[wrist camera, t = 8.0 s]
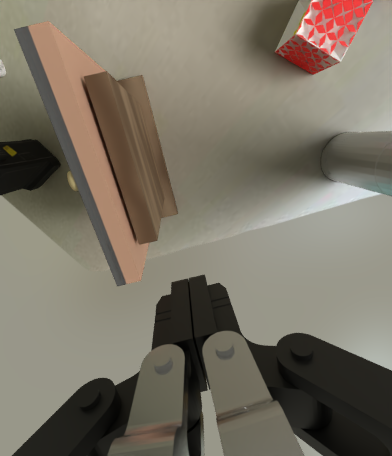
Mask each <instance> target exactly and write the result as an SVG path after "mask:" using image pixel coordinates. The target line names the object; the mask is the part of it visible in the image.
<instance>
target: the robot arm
mask: <svg viewBox="0 0 392 456" xmlns="http://www.w3.org/2000/svg"><path fill="white" fill-rule="evenodd" d="M321 167H322V170H323V172H324V174H325V175H326V176H327V177H328V178H329V179H331V180H333V181H337V182H341V183H344V184H348V185H352V186H355V187H359V188H363V189H366V190H370V191H374V192H378V193H381V194H386V195H389V196H392V131H381V132H348V133H342V134H340V135H337V136H336V137H334V138H333V139H332V140H331V141H330V142H329V143H328V144H327V145H326V147H325V148H324V151H323V153H322V157H321ZM171 286H172V287H171V294H170V295H166V296H162V297H161V299H160V300H159V302H158V304H157V305H156V316H155V324H154V333H153V342H152V351H151V352H150V353H149V354H148V355H147V356H146V357H145V358H144V360H143V362H142V365H141V368H140V371H139V372H138V373H137V374H135V375H134V376H132V377H131V378H129V379H127V380H125V381H123V382H121V383H119V384H117V385H116V386H115V385H114V383H113V382H112V381H111V380H110V379H107V378H98V379H94V380H92V381H90V382H88V383H87V384H85V385H83V386H82V387H81V388H80V389H78V390H77V391H76V392H75V393H74V394H73V395H72V396H71V397H70V398H69V399H68V400H67V401H66V402H65V403H64V404H63V405H62V406H61V407H60V408H59V409H58V410H57V411H56V412H55V413H54V414H53V415H52V416H51V417H50V418H49V419H48V420H47V421H46V422H45V423H44V424H43V425H42V426H41V427H40V428H39V429H38V430H37V431H36V432H35V433H34V434H33V435H32V436H31V437H30V438H29V439H28V440H27V441H26V442H25V443H24V444H23V445H22V446H21V447H20V448H19V449H18V450H17V451H16V452H15V453H14V454H13V455H12V456H204V455H205V453H204V424H203V423H204V422H203V413H202V402H201V393H200V392H203V391H207V383H208V386H209V389H211V394H212V398H213V403H214V407H215V412H216V416H217V418H216V420H217V425H218V430H219V434H220V439H221V444H222V449H223V453H224V456H304V454H303V451H302V449H301V447H300V445H299V443H298V441H297V439H296V437H295V435H297V436H298V437H299V438H300V439H302V440H303V441H304V442H306V443H307V444H308V445H310V446H311V447H312V448H314V449H315V450H316V451H317V452H319V453H320V454H321V455H323V456H392V371H391V370H389V369H387V368H384V367H382V366H380V365H377V364H375V363H373V362H370V361H368V360H366V359H364V358H362V357H359V356H357V355H355V354H352V353H350V352H348V351H346V350H343V349H341V348H339V347H336V346H334V345H332V344H329V343H327V342H325V341H323V340H321V339H318V338H316V337H314V336H311V335H308V334H303V333H293V334H289V335H286V336H284V337H283V338H281V339H280V340H279V342H278V343H277V346H263V345H258V344H255V343H252V342H250V341H249V340H247V339H246V338H245V337H244V336H243V335H242V333H241V331H240V328H239V325H238V322H237V319H236V316H235V314H234V311H233V308H232V305H231V302H230V299H229V296H228V293H227V290H226V288H225V287H224V286H222V285H221V284H220V283H216V284H212V285H208V286H207V282H206V278H205V275H200V276H197V277H192V278H189V280H188V279H184V280H180V281H175V282H172V285H171ZM206 379H207V382H206ZM294 434H295V435H294Z"/></svg>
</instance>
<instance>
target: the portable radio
mask: <svg viewBox="0 0 392 456" xmlns="http://www.w3.org/2000/svg"><path fill="white" fill-rule="evenodd" d="M59 166H60V163H59V161H58V160H57V159H56V157H55V156H54V155H53V154H52V153H50V152H49V151H48V150H47V149H46V148H45V147H44V146H43V145H42V144H41V143H39V142H38V141H37V140H31V139H29V140H22V141H13V142H0V195H3V194H6V193H9V192H12V191H16V190H19V189H27V190H30V191H31V190H34V189H37V188H39V187H40V186H41V185H42V184H43V183H44V182H45V181H46V180H47V179H48V178H49V177H50V176H51V175H52V174H53V173H54V172H55V171H56V170H57V169H58V167H59Z"/></svg>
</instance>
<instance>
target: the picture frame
mask: <svg viewBox="0 0 392 456" xmlns="http://www.w3.org/2000/svg"><path fill="white" fill-rule="evenodd" d="M14 31H15V33H16V36H17V38H18V41H19V43H20V46H21V48H22V51H23V53H24V56H25V58H26V61H27V63H28V66H29V68H30V71H31V73H32V76H33V78H34V81H35V83H36V86H37V88H38V91H39V93H40V96H41V98H42V100H43V103H44V105H45V108H46V110H47V113H48V115H49V118H50V120H51V123H52V125H53V128H54V130H55V133H56V135H57V138H58V140H59V143H60V145H61V148H62V150H63V153H64V155H65V158H66V160H67V163H68V165H69V168H70V170H71V171H69V172H68V173H67V178H68V182H69V185H70V186H71V188H72V189H73V190H74V191H79V192H80V195H81V197H82V200H83V202H84V205H85V207H86V210H87V212H88V215H89V217H90V220H91V222H92V225H93V227H94V230H95V232H96V235H97V237H98V240H99V242H100V245H101V247H102V250H103V252H104V255H105V257H106V260H107V262H108V265H109V267H110V270H111V272H112V274H113V277H114V279H115V282H116V284H117V286H121V285H125V284H129V283H133V282H137V281H141V278H142V274H143V269H144V264H145V260H146V255H147V250H148V246H149V243H145V244H141V245H139V243H138V240H137V237H136V234H135V231H134V228H133V225H132V222H131V219H130V216H129V213H128V210H127V207H126V204H125V201H124V198H123V195H122V192H121V189H120V186H119V183H118V180H117V177H116V174H115V171H114V168H113V165H112V162H111V159H110V155H109V152H108V149H107V146H106V143H105V140H104V137H103V134H102V131H101V128H100V125H99V122H98V119H97V116H96V113H95V110H94V107H93V104H92V101H91V98H90V95H89V92H88V89H87V86H86V83H85V80H84V76H88V75H92V74H96V73H101V72H105V70H104V69H103V68H101V67H100V66H99V65H98V64H97V63H96V62H95V61H93V60H92V59H91V58H90V57H89V56H88V55H87V54H85V53H84V52H83V51H82V50H81V49H80V48H79V47H77V46H76V45H75V44H74V43H73V42H72V41H71V40H69V39H68V38H67V37H66V36H65V35H64V34H63V33H62V32H60V31H59V30H58V29H57V28H56V27H55V26H54V25H52V24H51V23H50V22H49V21H47V22H43V23H39V24H34V25H30V26H26V27H22V28H18V29H14Z"/></svg>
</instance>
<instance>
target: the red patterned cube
mask: <svg viewBox="0 0 392 456" xmlns="http://www.w3.org/2000/svg"><path fill="white" fill-rule="evenodd" d="M372 2H373V0H299V1H298V3H297V5H296V7H295V9H294V12H293V14H292V16H291V18H290V20H289V22H288V25H287V27H286V29H285V31H284V33H283V35H282V38H281V40H280V42H279V44H278V46H277V48H276V51H275V53H277V54H278V55H280V56H282V57H283V58H285V59H287V60H289V61H290V62H292V63H294V64H296V65H297V66H299V67H301V68H302V69H304V70H306V71H307V72H309V73H311V74H313V75H314V74H316V73H318V72H320V71H322V70H324V69H326V68H329V67H331V66H333V65H335V64H337V63H339V62H341V61H342V59H343V57H344V55H345V53H346V51H347V49H348V47H349V46H350V44H351V42H352V40H353V38H354V36H355V34H356V32H357V31H358V29H359V27H360V25H361V23H362V21H363V19H364V17H365V16H366V14H367V12H368V10H369V8H370V6H371V4H372Z"/></svg>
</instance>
